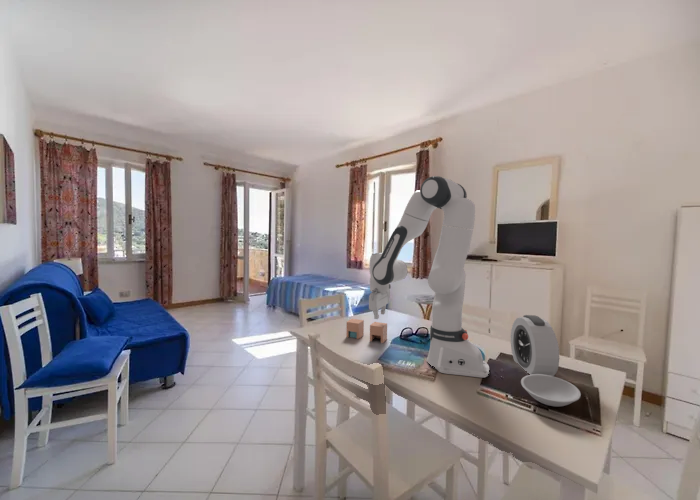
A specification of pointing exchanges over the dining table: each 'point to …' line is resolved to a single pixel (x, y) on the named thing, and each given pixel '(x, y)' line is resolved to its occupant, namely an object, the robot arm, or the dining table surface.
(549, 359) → the alarm clock
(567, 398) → the dish
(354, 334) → the letter cube
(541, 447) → the dining table surface
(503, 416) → the dining table surface
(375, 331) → the brown box with opening
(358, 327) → the tan box with door
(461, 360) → the robot arm
